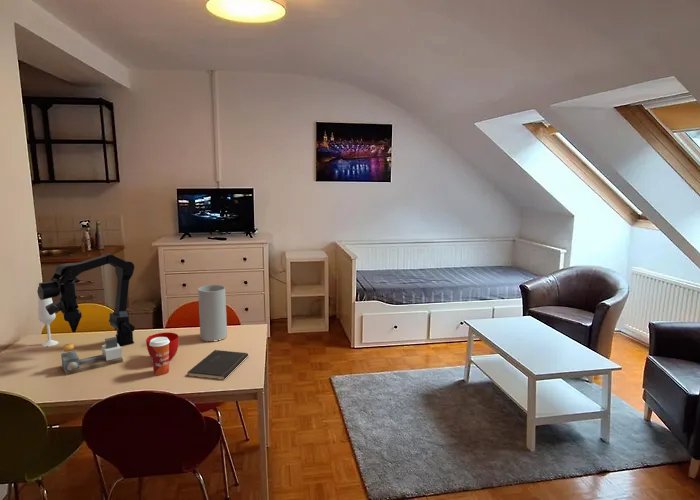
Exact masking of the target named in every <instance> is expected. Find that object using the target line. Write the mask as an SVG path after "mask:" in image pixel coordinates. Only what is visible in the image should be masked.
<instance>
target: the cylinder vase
mask: <svg viewBox="0 0 700 500" xmlns="http://www.w3.org/2000/svg"><path fill="white" fill-rule="evenodd" d="M197 292H198V294H197V295H198V311H199V313H198V315H199V335H200V339H201V340H202V341H204V340H206V341H205V342H208V341H214V340H219V339H222V338H224V337H226V338H227V336H228V324H227V322H228V321H227V303H226V302H227V300H226V299H227V298H226V296H227V295H226V287H225V286H224V285H219V284H209V285H207V284H206V285H203V286H200V287H198V288H197ZM224 339H225V338H224ZM214 342H215V341H214Z"/></svg>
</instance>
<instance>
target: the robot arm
mask: <svg viewBox="0 0 700 500" xmlns="http://www.w3.org/2000/svg"><path fill="white" fill-rule="evenodd" d="M106 265H110V266H112V267H114V270H115V275H116V278H117V286H116V297H115V306H114V307H115V308H114V310H113V312H110V313H109V319H108V322H109V325H110V326H111V328H113V329H114V330H115V331H116V334H115V337H116V339H117V343H118V344H119V346H120V347H124V346H127V345H133V344H135V341H134V335H133V333H134V332H135V326H134V325H133V324H132V323H130V318H129V317H130V316H129V314H128V313H129V312H128V310H127V308H128V298H129V289H130V280H131V278H132V277H133V275H134V271H135V268H136V267H135V264H134V263H133V262H132V261H129V260H125V259H122V258H119V257H117V256H116V255H114V254H112V253H111V254H110V253H105V254H102V255H100V256H96V257H92V258H89V259H85V260H82V261H79V262H78V261H77V262H69V263H68V262H67V263H61V264H58V265H57V266H56V268H55V272H54V273H53V275H52V277H51V278H50V280H49V281H45V282H39V283H38V287H37V291H36V292H37V297H38V296H39V298H40V299H41V300H44V299H48V298H52V299H53V298H56V297H58V296H59V297H58V298H59V300H57V301H56V300H55V301H54V302H53V301H52V302H53V303H51V304H49V305H47V306H46V307H45V308H46V310H47V311H48V313H49V315H52V314H54V313H55V314H56V313H58V312H61V313H62V316H63V320H64V321H65V322H67V323H68V325H69V327H70V329H71V332H72V333H76V331H77V329H78V326H79V324H80V321H81V319H82V317H83V316H82V314H83V313H82V311H81V309H79V305H78V296H77V290H76V284H77V283H80V282H81V280H80V279H78V278H77V277H79V275H80V274H82V273H84V272H87V271H90V270H93V269H96V268H98V267H99V268H100V267H102V266H106Z"/></svg>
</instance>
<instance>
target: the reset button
mask: <svg viewBox="0 0 700 500" xmlns="http://www.w3.org/2000/svg"><path fill="white" fill-rule="evenodd" d="M62 348H63V352H64V353H66V352H71V351H75V344H74V343H66V344H64V345H63V347H62Z"/></svg>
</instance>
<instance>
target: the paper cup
mask: <svg viewBox="0 0 700 500" xmlns="http://www.w3.org/2000/svg"><path fill="white" fill-rule="evenodd" d="M169 343H170V341H169V339H168V338H167V337H156V338H153V339H151V340H150V343H149V345H150V348H151V355H152V357H151V360H152V361H151V362H152V368H153V374H154V375H155V376H164V375H167V374H169V372H170V361H169Z"/></svg>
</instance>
